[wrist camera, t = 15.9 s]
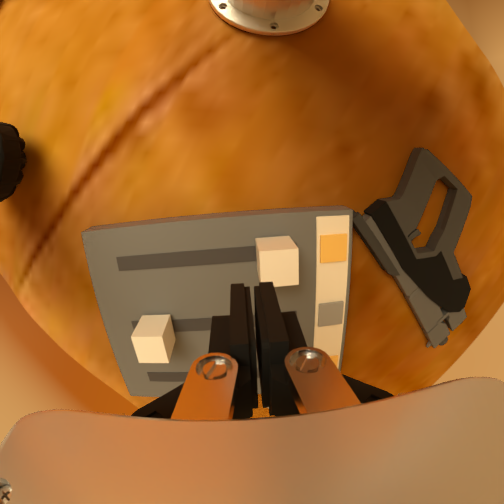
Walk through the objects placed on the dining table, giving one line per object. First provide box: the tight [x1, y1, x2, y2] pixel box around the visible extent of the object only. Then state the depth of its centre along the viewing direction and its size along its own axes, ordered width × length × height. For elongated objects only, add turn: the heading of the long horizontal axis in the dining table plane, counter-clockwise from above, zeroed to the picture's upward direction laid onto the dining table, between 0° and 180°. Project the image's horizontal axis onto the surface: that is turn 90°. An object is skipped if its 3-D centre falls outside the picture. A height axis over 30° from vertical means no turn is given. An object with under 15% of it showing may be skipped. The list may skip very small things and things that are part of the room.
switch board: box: [81, 205, 353, 397], centre depth 30 cm, size 21×26×3 cm
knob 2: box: [255, 236, 299, 287], centre depth 24 cm, size 3×3×4 cm
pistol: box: [352, 148, 472, 348], centre depth 30 cm, size 2×26×15 cm
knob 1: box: [131, 314, 176, 363], centre depth 26 cm, size 3×3×4 cm
